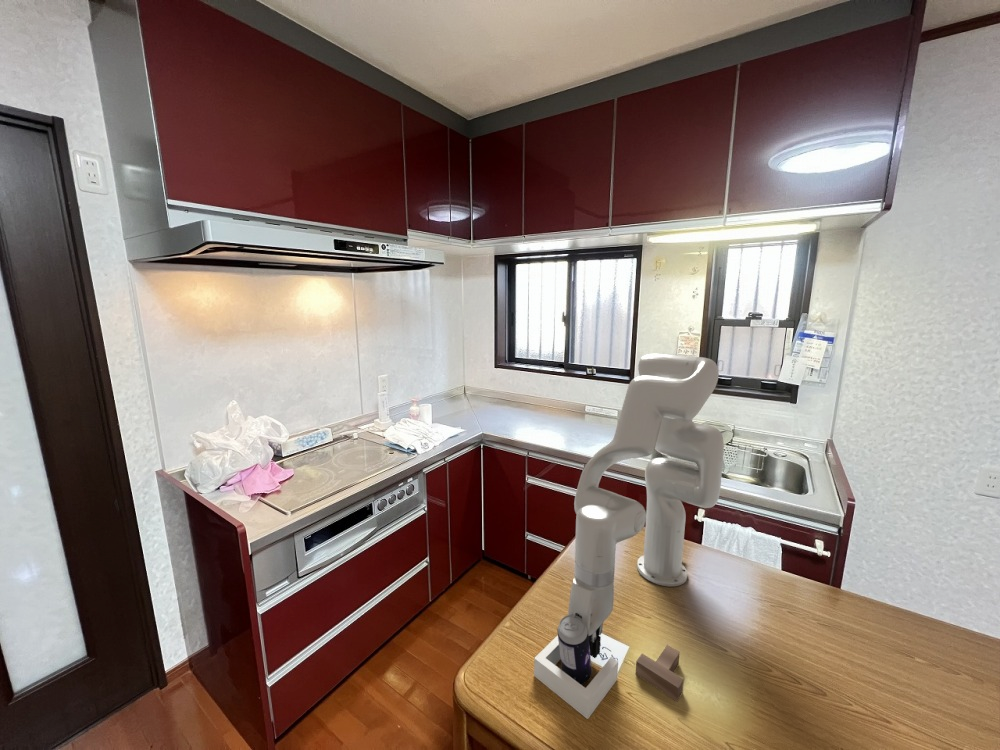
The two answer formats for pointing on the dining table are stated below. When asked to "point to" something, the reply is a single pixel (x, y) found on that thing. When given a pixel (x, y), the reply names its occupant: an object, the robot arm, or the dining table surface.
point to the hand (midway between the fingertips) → (590, 651)
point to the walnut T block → (662, 672)
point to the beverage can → (574, 648)
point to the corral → (567, 686)
